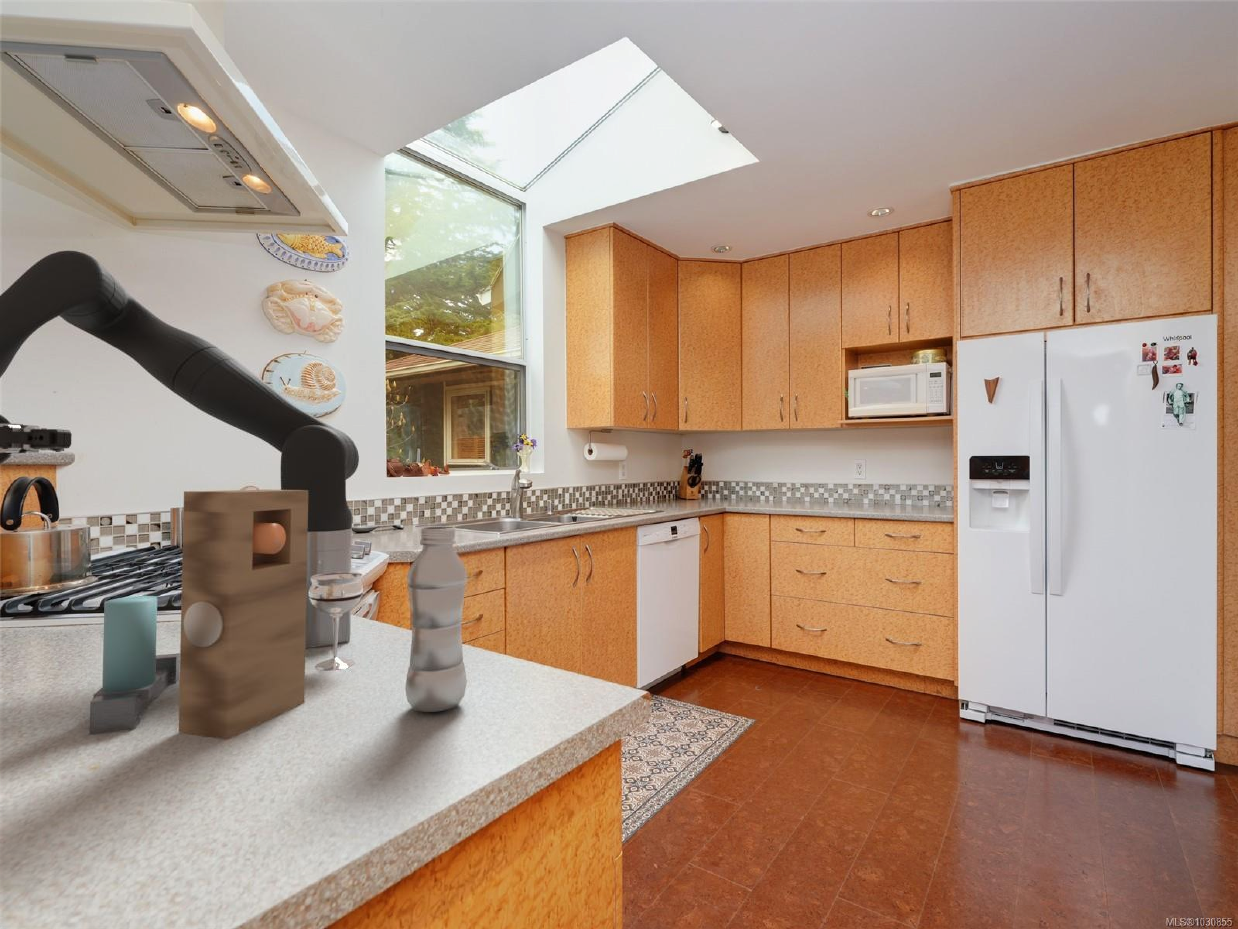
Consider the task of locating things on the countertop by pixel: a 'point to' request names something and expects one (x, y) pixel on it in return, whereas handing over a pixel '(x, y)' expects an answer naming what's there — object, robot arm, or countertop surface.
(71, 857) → the countertop surface
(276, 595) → the wooden window block
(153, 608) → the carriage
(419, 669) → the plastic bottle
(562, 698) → the countertop surface
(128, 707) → the rail
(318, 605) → the wineglass
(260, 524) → the plunger
